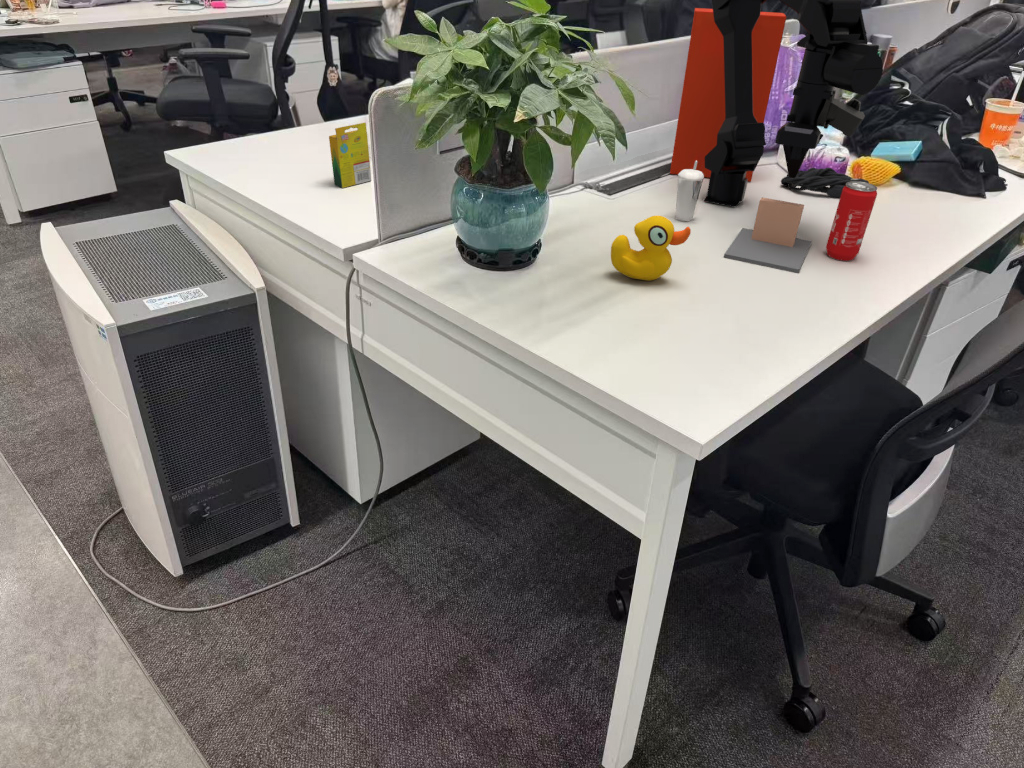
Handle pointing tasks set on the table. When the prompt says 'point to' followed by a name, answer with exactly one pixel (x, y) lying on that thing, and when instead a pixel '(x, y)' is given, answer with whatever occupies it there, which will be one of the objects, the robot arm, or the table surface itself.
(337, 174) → the crayon box
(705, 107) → the file binder
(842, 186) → the cable
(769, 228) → the tile
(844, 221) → the beverage can
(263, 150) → the table surface
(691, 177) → the milkshake
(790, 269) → the mat
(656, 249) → the duckling
